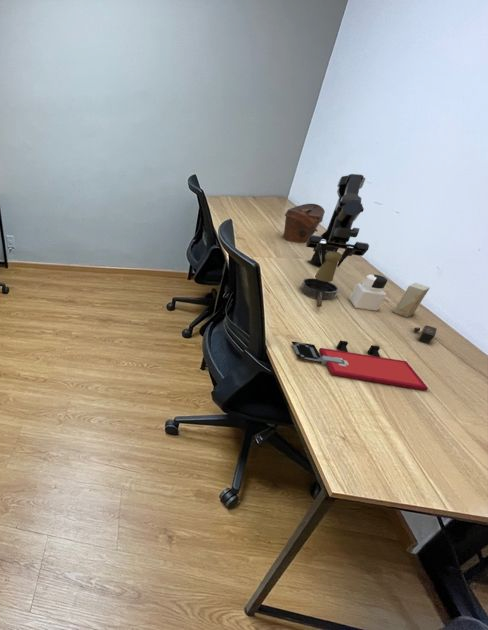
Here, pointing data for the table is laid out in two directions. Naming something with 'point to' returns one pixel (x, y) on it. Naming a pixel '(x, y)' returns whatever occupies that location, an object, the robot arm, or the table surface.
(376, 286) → the medicine bottle
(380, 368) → the red board with handle
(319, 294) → the pan handle
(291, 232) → the case
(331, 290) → the pan
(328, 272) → the cork
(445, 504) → the table surface
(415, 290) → the box
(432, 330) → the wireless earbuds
